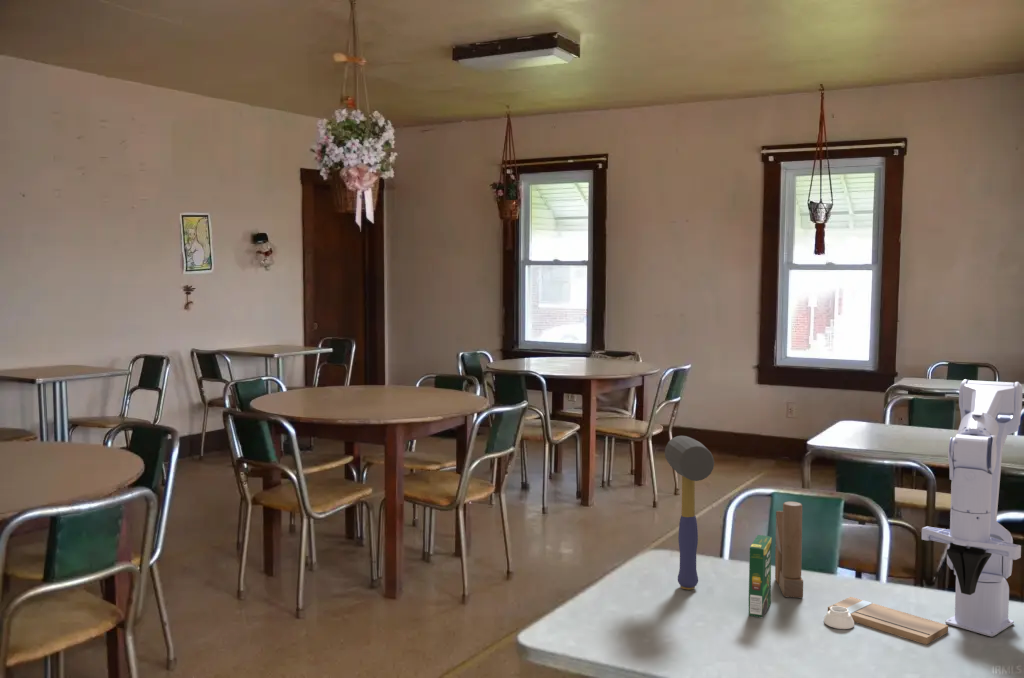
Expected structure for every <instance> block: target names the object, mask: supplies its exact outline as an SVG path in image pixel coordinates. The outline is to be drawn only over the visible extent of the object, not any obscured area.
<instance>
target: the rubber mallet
mask: <svg viewBox="0 0 1024 678" xmlns="http://www.w3.org/2000/svg"><path fill="white" fill-rule="evenodd" d="M664 457H665V459H666V461H667V463H668V464H669V466H670V468H672V469H673V470H674V471H675V472H676V474H679V475H680V476H681V516H680V519H679V526H678V535H677V536H678V538H677V539H678V541H677V542H678V548H679V571H678V575H677V583H678V584H679V587H680V588H681V589H683V590H689V591H691V590H695V589H696V586H698V582H699V576H698V572H697V553H698V552H697V551H698V546H699V545H698V543H699V530H698V528H699V527H698V521H697V517H696V513H695V511H696V510H695V509H696V505H695V503H696V500H695V499H696V495H695V491H696V490H695V489H696V487H695V484H696V483H695V482H698V481H699V482H700V481H702V480H705V479H707V478H708V477H709V476H710V475H711V474H712V472H713V470H714V466H715V459H714V456H713V454H712V452H711V451H710V450H709V449H708V447H706V446H705V445H704V444H703V443H702V442H700V441H698V440H696V439H695V438H692V437H690V436H687V435H677V436H675V437H672V438H671V439H670V440H669V441H668V442H667V443H666V446H665V448H664Z"/></svg>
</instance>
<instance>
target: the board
mask: <svg viewBox="0 0 1024 678" xmlns="http://www.w3.org/2000/svg"><path fill="white" fill-rule="evenodd" d="M832 606H841V607H845V608H847V609H848V611H849V613H850V614H851V616H852V618H853V621H854V623H857V624H859V625H862V626H865V627H869V628H873V629H875V630H879V631H882V632H885V633H889V634H892V635H894V636H898V637H901V638H905V639H908V640H911V641H915V642H917V643H920V644H923V645H928V644H930V643H932V642H933V641H936V640H937V639H939V638H940V637H942V636H944V635H946V634H947V633H949V624H946V623H941V622H938V621H935V620H932V619H931V620H930V619H928V618H926V617H925V618H924V617H921V616H917V615H915V614H911V613H908V612H904V611H900V610H898V609H894V608H890V607H888V606H884V605H880V604H877V603H873V602H870V601H868V600H864V599H859V598H856V597H853V596H849V597H847V598H845V599H842V600H840V601H838V602H836V603H834V604H831V605H829V606H827V612H828V611H829V610H830V608H831V607H832Z"/></svg>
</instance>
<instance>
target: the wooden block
mask: <svg viewBox="0 0 1024 678" xmlns="http://www.w3.org/2000/svg"><path fill="white" fill-rule="evenodd" d="M802 543H803V504H802V503H801V502H799V501H798V502H797V501H785V502H783V503H782V510H776V511H775V551H774V552H775V555H774V556H775V558H774V559H775V561H774V565H775V567H774V568H775V569H774V571H775V572H774V579H775V581H776V583H777V584H778V586H779V589H780V591H781V592H782V595H783V597H784V598H795V599H797V598H798V599H799V598H800V599H802V598H803V597H804V580H803V578H802V555H803V554H802V553H803V550H802V549H803V546H802V545H803V544H802Z"/></svg>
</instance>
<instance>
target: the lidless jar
mask: <svg viewBox="0 0 1024 678" xmlns="http://www.w3.org/2000/svg"><path fill="white" fill-rule="evenodd" d="M823 623H824V624H825V625H826V626H828V627H830V628H834V629H836V630H837V629H838V630H849V629H852V628H854V626H855V622H854V621H853V618H852V616H851V614H850V613H849V611H848V609H847V608H845V607H841V606H832V607H831V608H830V610H829V611H828V610H827V613H826V614H825V616H824V617H823Z"/></svg>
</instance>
